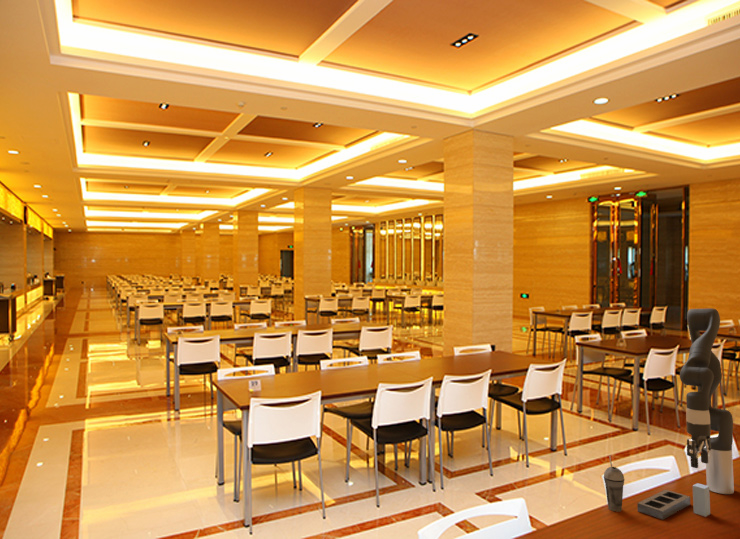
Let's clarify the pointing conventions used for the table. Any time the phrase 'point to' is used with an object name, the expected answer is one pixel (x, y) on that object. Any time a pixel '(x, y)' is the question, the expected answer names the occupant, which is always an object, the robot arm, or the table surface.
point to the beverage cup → (614, 487)
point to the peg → (701, 499)
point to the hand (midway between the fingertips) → (699, 465)
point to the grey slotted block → (663, 504)
